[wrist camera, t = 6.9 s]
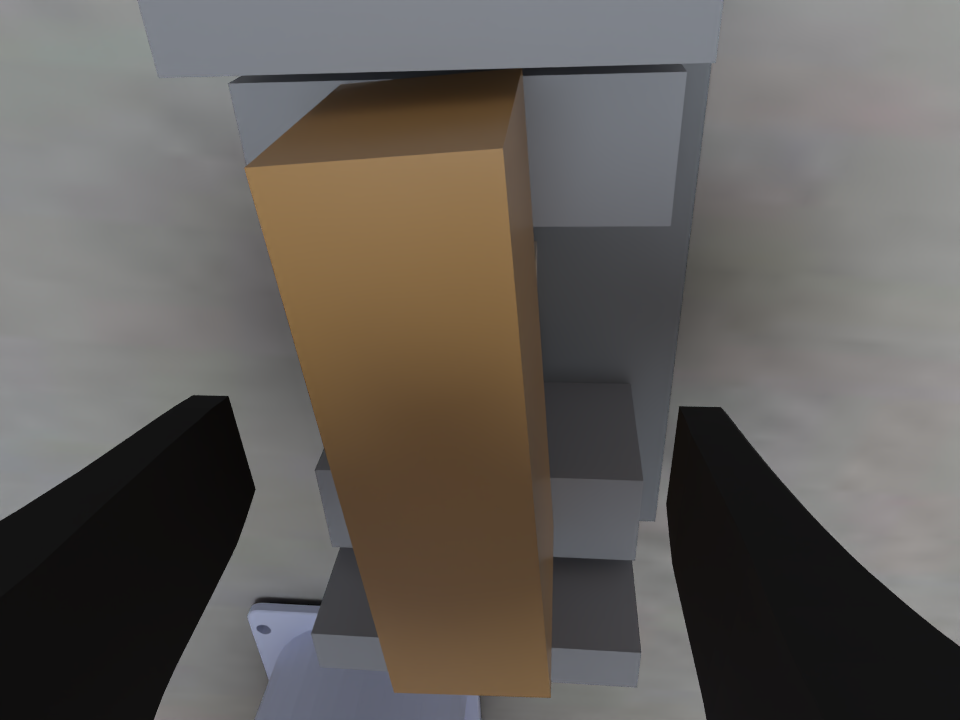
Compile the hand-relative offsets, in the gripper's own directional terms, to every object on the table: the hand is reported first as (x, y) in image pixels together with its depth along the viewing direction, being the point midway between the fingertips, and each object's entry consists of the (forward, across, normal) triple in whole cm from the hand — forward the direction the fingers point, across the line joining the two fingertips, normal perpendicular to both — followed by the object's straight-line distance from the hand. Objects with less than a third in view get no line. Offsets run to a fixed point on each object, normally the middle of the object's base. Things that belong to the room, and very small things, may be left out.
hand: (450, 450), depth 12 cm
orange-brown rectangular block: (+2, 0, 0) cm, 3 cm away
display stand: (+7, 0, 0) cm, 7 cm away
